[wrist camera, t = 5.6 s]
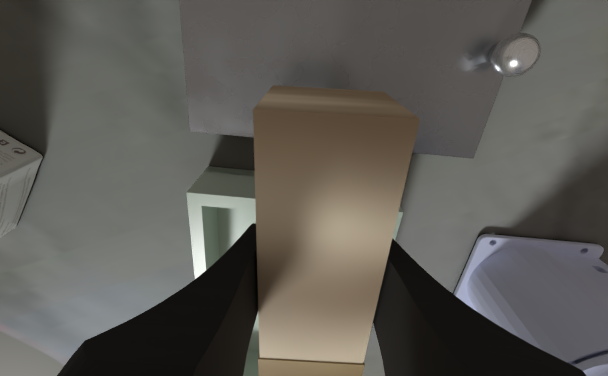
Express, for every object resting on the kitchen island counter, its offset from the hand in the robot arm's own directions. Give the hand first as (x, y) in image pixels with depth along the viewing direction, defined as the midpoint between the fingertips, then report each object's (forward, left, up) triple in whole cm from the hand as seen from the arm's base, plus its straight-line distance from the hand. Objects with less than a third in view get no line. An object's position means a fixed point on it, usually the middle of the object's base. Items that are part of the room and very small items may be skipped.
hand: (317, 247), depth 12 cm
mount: (-1, -8, -9) cm, 12 cm away
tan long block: (0, 0, -2) cm, 2 cm away
